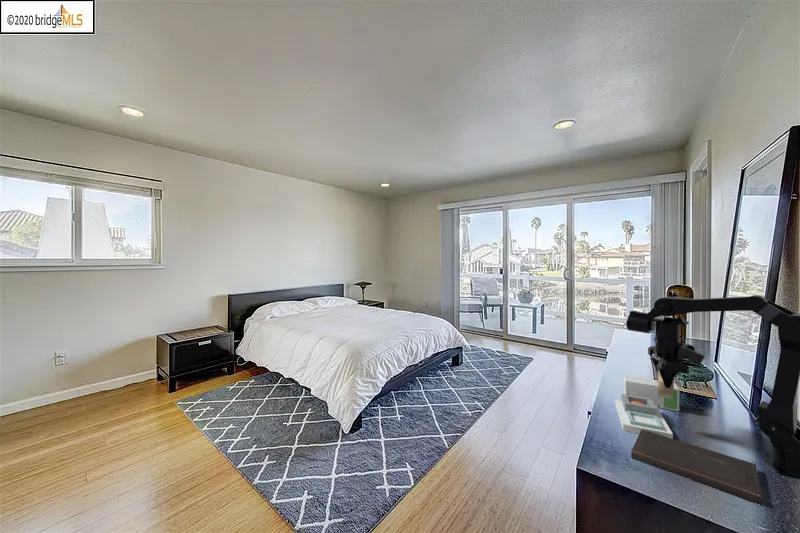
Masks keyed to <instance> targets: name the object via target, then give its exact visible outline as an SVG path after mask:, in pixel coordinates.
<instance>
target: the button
mask: <svg viewBox="0 0 800 533" xmlns="http://www.w3.org/2000/svg"><path fill="white" fill-rule="evenodd" d="M630 403H635V404H641V405H646V404H644V403H642V402H638V401H631V402H630Z"/></svg>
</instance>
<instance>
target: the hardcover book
mask: <svg viewBox="0 0 800 533" xmlns="http://www.w3.org/2000/svg"><path fill="white" fill-rule="evenodd" d="M630 453H631V454H630V456H631V459H632V460H636V461H638V462H641V463H644V464H646V465H649V466H652V467H654V468H656V469H659V470H662V471H665V472H668V473H670V472H672V473H671V474H673V473H675V474H674V475H676V474H678V475H677V476H679V475H680V476H679V477H681V476H683V477H682V478H684V477H686V478H685V479H687V478H689V479H691V480H690V481H692V480H693V481H692V482H696V483H697V484H700V483H701V485H703V484H704V486H706V485H707V487H709V486H710V487H709V488H711V487H712V488H711V489H714V488H715V489H714V490H717V489H718V491H720V492H722V491H723V492H722V493H725V492H726V494H728V493H729V494H728V495H730V494H731V496H733V495H734V497H736V496H737V497H736V498H739V499H741V498H742V499H743V500H745V501H747V502H750V503H752V502H753V504H755V503H757V504H756V505H758V504H760V505H759V506H761V505H762V506H763V496H762V490H761V484H760V480H759V474H758V469H757V464H756V463H753V462H750V461H747V460H743V459H739V458H737V457H733V456H730V455H727V454H723V453H720V452H717V451H714V450H712V449H711V450H710V449H707V448H705V447H701V446H697V445H694V444H691V443H688V442H684V441H681V440H678V439H674V438H673V439H672V438H668V437H665V436H662V435H659V434H655V433H652V432H649V431H646V430H642V429H641V431H640V434H638V435H637V438H636V440H635V443H634V445H633V447H632V449H631V452H630ZM689 479H688V480H689Z"/></svg>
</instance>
